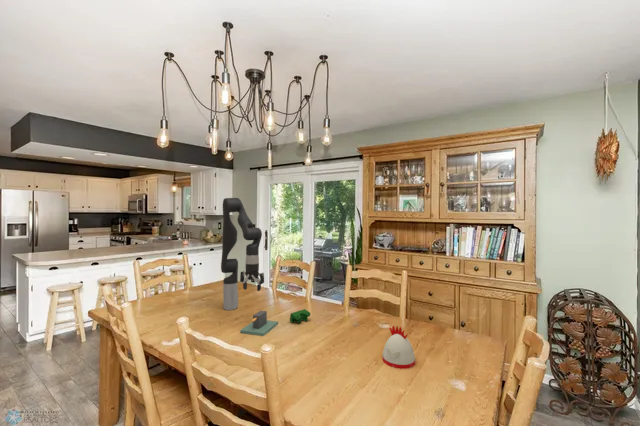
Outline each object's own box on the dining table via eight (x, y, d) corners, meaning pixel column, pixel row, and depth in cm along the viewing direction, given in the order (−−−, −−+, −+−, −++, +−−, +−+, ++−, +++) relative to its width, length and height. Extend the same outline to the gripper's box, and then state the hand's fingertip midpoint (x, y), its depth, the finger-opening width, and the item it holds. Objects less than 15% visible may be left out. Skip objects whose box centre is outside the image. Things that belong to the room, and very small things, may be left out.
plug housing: (260, 322, 177) (260, 310, 177) (266, 323, 176) (266, 311, 176) (249, 330, 165) (249, 317, 165) (255, 331, 164) (255, 318, 164)
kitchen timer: (391, 350, 146) (391, 318, 146) (419, 359, 137) (420, 325, 137) (376, 361, 135) (377, 327, 135) (406, 372, 126) (407, 335, 126)
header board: (256, 321, 183) (256, 312, 183) (278, 324, 179) (278, 314, 179) (240, 332, 166) (240, 322, 166) (263, 336, 162) (263, 325, 162)
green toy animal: (297, 331, 180) (294, 320, 176) (291, 326, 184) (288, 314, 180) (312, 319, 187) (310, 308, 183) (306, 314, 191) (303, 303, 187)
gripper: (266, 262, 180) (266, 289, 181) (244, 260, 184) (244, 287, 185) (260, 264, 173) (260, 293, 174) (237, 262, 177) (237, 290, 178)
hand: (252, 290), depth 179 cm, fingers open, 8 cm apart
